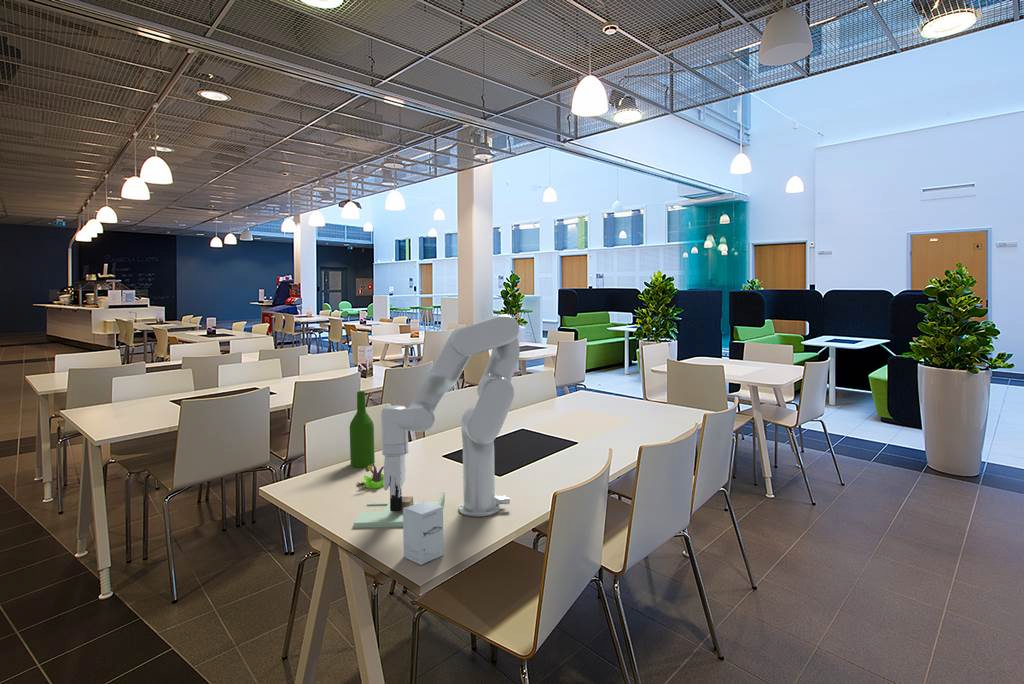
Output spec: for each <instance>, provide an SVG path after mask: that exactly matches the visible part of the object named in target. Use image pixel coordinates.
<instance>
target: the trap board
mask: <svg viewBox="0 0 1024 684" xmlns="http://www.w3.org/2000/svg"><path fill="white" fill-rule="evenodd" d="M445 494H446V493H445V491H443V492H441V493H440V497H439V501H429V502H430V503H434V504H437V505H440V506H443V509H444V507H445V505H446V504H445V503H446V501H445V500H446V498H445V496H446V495H445ZM421 502H422V501H417V502H416V501H413V505H415V504H418V503H421ZM366 506H367V507H373V506H376V507H377V506H385V508H384V510H380V511H379V510H378V511H377V510H376V511H375V510H374V511H373V510H372V511H361V512H360V513H359V515H358V516H357V518H356V519H355V520H354V522H353V528H354V529H355V528H357V529H358V528H359V529H360V528H362V529H363V528H396V527H397V528H398V527H399V528H401V527H402V528H403V512H393V511H390V502H374V503H373V502H370V503H369V502H367V503H366Z"/></svg>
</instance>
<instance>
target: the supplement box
mask: <svg viewBox="0 0 1024 684" xmlns="http://www.w3.org/2000/svg"><path fill="white" fill-rule="evenodd" d="M420 502H421V503H418V504H415V505H412V506H408V507H405V508H403V527H402V528H403V530H402V534H403V536H402V537H403V558H405V559H406V560H407V559H408V560H409V561H411V562H413V563H416V564H418V565H420V566H423V565H424V564H427V563H428V562H431V561H433V560H435V559H438V558H440V557H442V556H444V551H445V550H444V549H445V548H444V547H445V546H444V539H445V538H444V508H443V506H440V505H437V504H434V503H430V502H431V501H427V500H424V501H420Z"/></svg>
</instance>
